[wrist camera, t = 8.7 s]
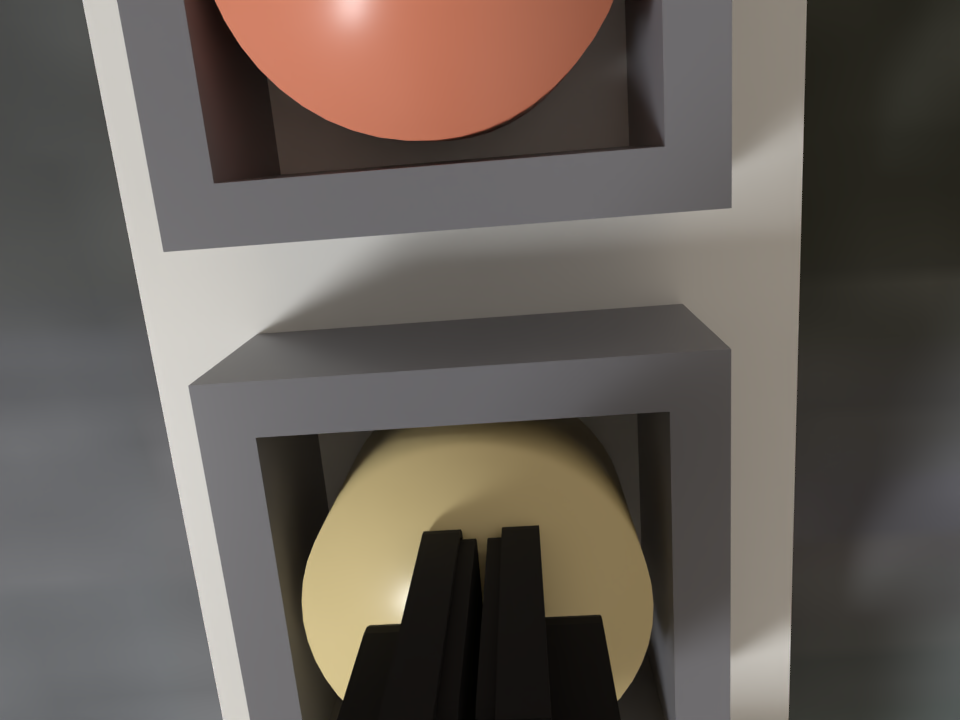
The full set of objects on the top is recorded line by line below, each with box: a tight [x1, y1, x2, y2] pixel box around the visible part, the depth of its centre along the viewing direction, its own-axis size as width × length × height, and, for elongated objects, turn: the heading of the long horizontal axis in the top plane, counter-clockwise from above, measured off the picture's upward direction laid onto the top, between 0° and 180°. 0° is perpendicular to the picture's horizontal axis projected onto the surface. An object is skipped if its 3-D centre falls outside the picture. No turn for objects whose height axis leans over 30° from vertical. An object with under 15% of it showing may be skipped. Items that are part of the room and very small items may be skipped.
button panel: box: [83, 0, 807, 720], centre depth 14 cm, size 26×11×5 cm, turn 5°
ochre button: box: [302, 417, 654, 701], centre depth 13 cm, size 5×5×3 cm
